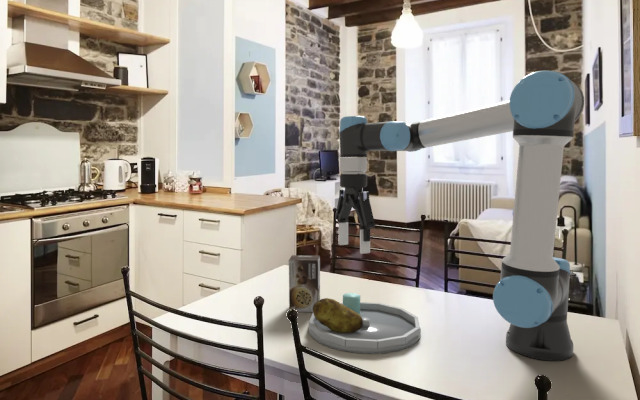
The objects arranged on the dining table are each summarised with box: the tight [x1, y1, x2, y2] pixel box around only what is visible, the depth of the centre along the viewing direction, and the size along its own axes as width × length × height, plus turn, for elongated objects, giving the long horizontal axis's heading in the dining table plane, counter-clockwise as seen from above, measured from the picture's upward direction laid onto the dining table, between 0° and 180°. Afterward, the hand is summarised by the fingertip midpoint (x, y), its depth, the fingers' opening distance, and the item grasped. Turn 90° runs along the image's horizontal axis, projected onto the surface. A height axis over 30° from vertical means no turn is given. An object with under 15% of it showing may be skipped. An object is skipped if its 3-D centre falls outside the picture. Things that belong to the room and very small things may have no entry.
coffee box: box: [288, 254, 321, 313], centre depth 143 cm, size 9×6×16 cm
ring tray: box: [308, 301, 422, 355], centre depth 127 cm, size 30×30×3 cm
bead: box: [342, 292, 361, 315], centre depth 134 cm, size 5×5×6 cm
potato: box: [312, 297, 363, 333], centre depth 124 cm, size 8×13×8 cm, turn 57°
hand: (353, 248), depth 132 cm, fingers open, 13 cm apart
